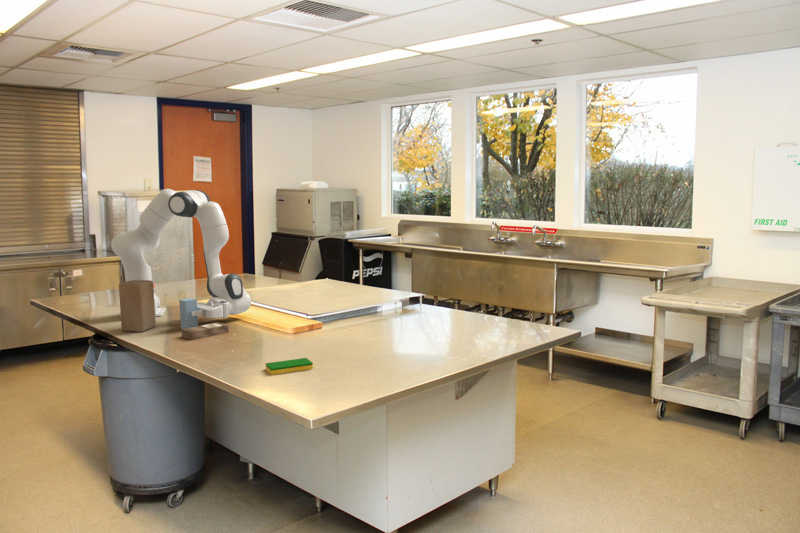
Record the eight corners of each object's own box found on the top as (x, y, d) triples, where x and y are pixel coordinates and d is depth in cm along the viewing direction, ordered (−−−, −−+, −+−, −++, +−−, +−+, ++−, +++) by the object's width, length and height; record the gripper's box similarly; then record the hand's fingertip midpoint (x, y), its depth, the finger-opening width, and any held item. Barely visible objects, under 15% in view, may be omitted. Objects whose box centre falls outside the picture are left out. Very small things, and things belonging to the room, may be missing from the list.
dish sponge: (313, 370, 207) (313, 362, 207) (271, 376, 201) (270, 368, 201) (306, 364, 214) (306, 357, 213) (265, 370, 208) (265, 363, 207)
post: (191, 326, 269) (190, 298, 267) (198, 327, 266) (196, 299, 264) (181, 328, 265) (179, 299, 263) (187, 330, 262) (185, 301, 260)
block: (142, 332, 259) (139, 283, 257) (120, 331, 261) (117, 283, 259) (156, 327, 269) (153, 280, 266) (135, 326, 271) (132, 279, 268)
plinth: (217, 329, 263) (217, 322, 263) (228, 332, 258) (228, 324, 258) (181, 336, 252) (181, 329, 251) (192, 340, 246) (192, 332, 246)
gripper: (202, 297, 280) (173, 302, 270) (229, 303, 267) (199, 308, 257) (203, 311, 281) (174, 316, 271) (230, 318, 268) (200, 323, 258)
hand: (186, 312), depth 264 cm, fingers closed on post, 5 cm apart
